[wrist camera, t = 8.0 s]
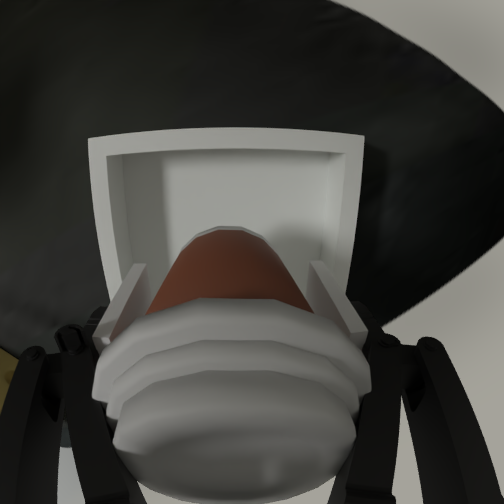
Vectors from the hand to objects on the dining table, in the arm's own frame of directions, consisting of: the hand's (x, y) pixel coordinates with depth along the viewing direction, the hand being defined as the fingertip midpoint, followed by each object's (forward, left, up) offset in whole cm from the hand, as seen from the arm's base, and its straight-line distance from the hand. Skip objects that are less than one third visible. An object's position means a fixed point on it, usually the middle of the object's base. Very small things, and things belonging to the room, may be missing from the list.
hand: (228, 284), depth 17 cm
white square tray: (0, 0, -6) cm, 6 cm away
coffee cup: (0, 0, -1) cm, 1 cm away
